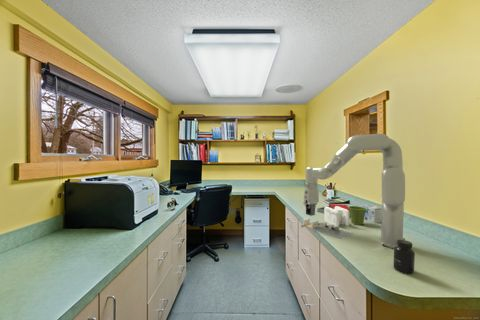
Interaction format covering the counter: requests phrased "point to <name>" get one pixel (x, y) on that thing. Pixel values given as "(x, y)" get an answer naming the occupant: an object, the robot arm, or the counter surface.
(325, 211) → the cable organizer
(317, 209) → the tray
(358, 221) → the plant pot
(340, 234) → the board
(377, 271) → the counter surface
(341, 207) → the red device housing
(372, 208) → the light bulb box
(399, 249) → the supplement bottle
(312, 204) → the block
